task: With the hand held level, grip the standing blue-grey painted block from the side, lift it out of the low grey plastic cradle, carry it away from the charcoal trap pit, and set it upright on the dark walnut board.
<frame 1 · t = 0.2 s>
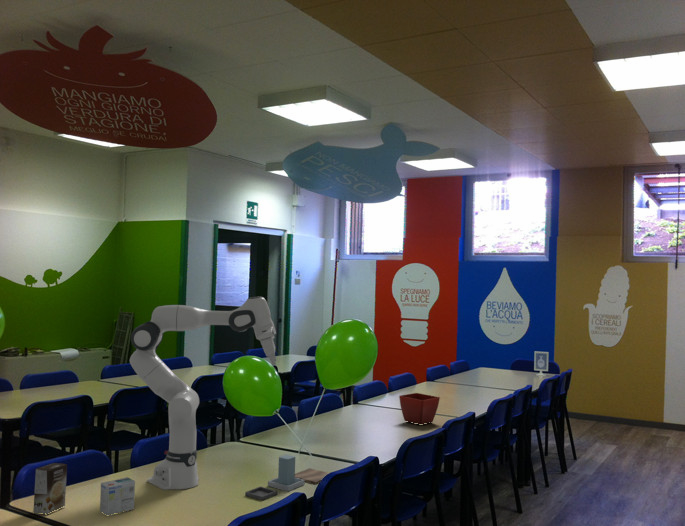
hand: (274, 363, 265), 51 cm above the table, tool tilted 20°, fingers open, 8 cm apart
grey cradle: (286, 485, 261), on the table
walnut board: (312, 477, 274), on the table
coffee box: (49, 511, 225), on the table
plant pot: (418, 423, 391), on the table
light bulb box: (116, 511, 227), on the table
blue-grey block: (286, 471, 262), in the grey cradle
trap pit: (261, 495, 248), on the table
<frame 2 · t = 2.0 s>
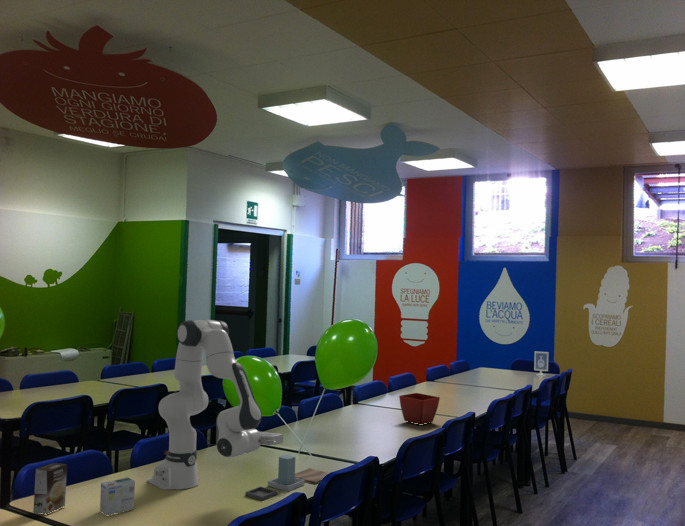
hand: (270, 434, 254), 23 cm above the table, tool horizontal, fingers open, 8 cm apart
nothing on the table moved.
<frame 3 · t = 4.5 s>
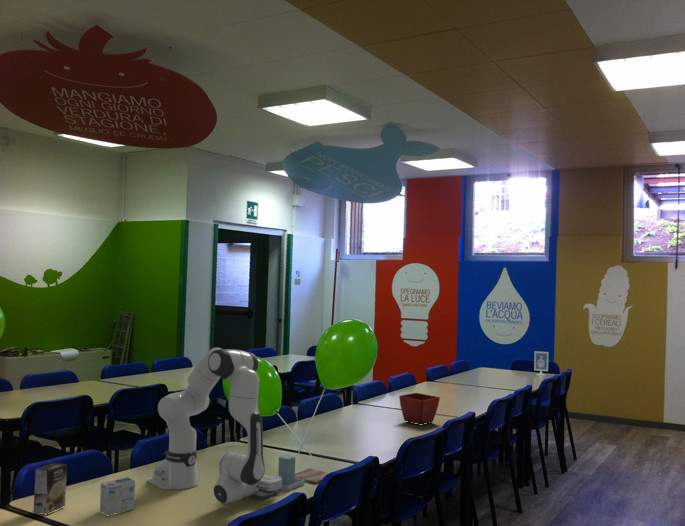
hand: (271, 475, 253), 6 cm above the table, tool horizontal, fingers open, 8 cm apart
nothing on the table moved.
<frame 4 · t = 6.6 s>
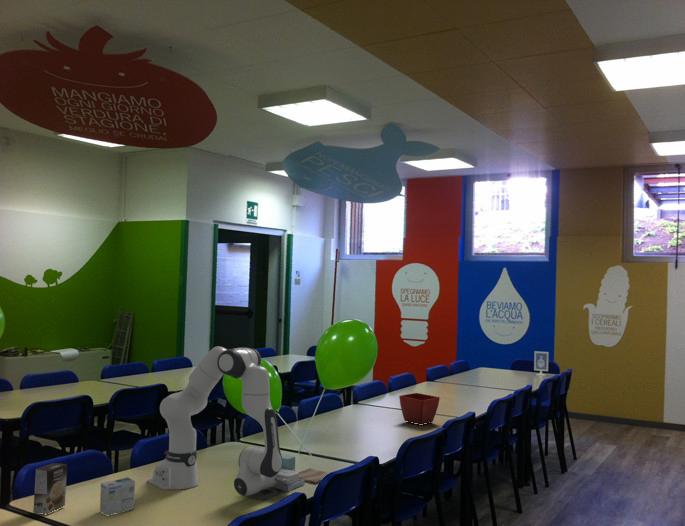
hand: (288, 469, 262), 7 cm above the table, tool horizontal, fingers closed on blue-grey block, 5 cm apart
blue-grey block: (286, 471, 262), in the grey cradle, touching gripper
everything else where it was.
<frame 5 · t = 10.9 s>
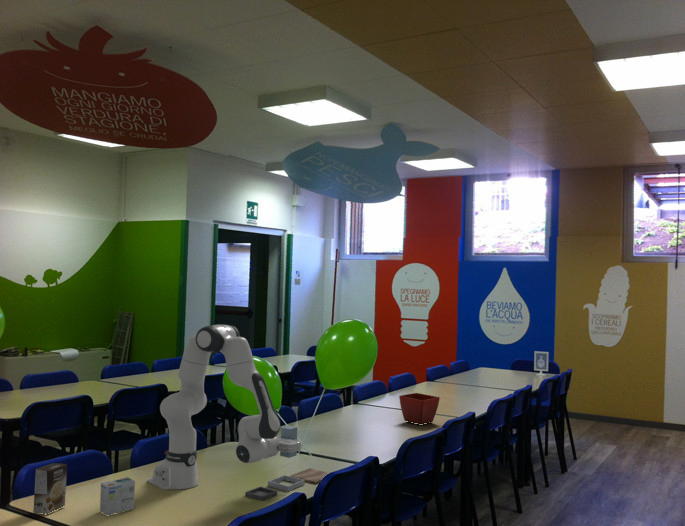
hand: (290, 439, 263), 19 cm above the table, tool horizontal, fingers closed on blue-grey block, 5 cm apart
blue-grey block: (288, 441, 262), point 18 cm above the table, touching gripper
everything else where it was.
when the fingers open (8 cm above the table, at t = 15.2 s): blue-grey block stays where it is, resting on walnut board.
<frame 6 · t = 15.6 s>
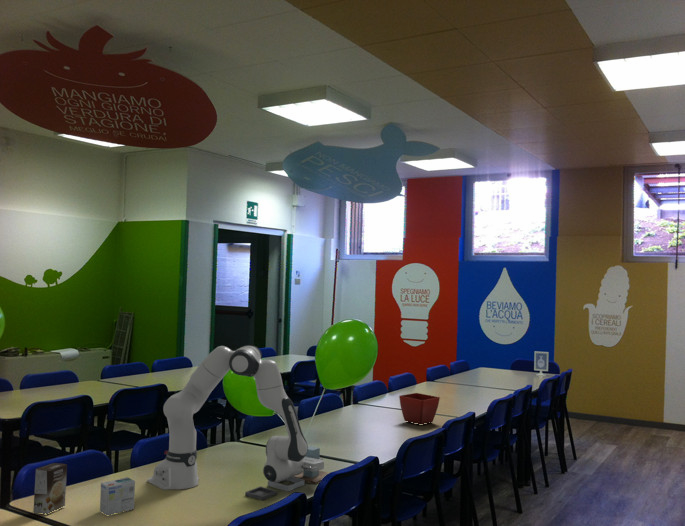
hand: (312, 458, 274), 8 cm above the table, tool horizontal, fingers open, 8 cm apart
blue-grey block: (311, 461, 273), on the walnut board, point 7 cm above the table
everything else where it was.
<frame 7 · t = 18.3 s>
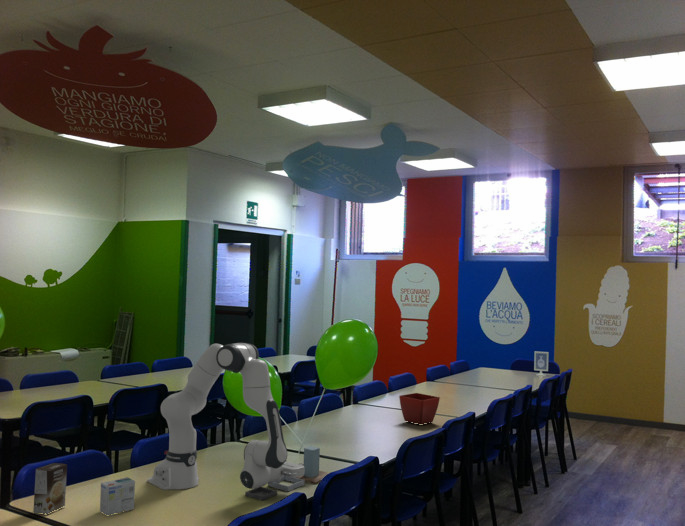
hand: (293, 463, 263), 9 cm above the table, tool horizontal, fingers open, 8 cm apart
nothing on the table moved.
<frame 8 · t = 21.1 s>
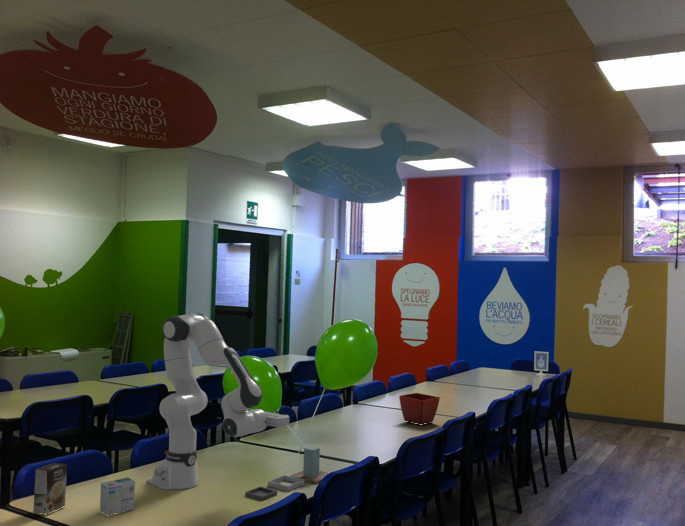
hand: (278, 415, 260), 30 cm above the table, tool horizontal, fingers open, 8 cm apart
nothing on the table moved.
at the end: blue-grey block inside the target area on the walnut board (1.1 cm from its centre), point 7.0 cm above the walnut board's base; blue-grey block tilted 0°; the gripper is holding nothing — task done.
